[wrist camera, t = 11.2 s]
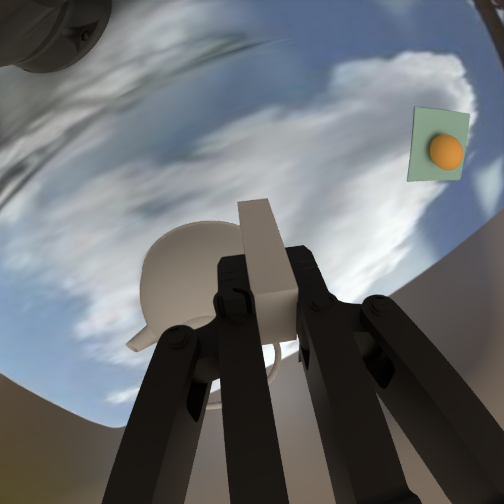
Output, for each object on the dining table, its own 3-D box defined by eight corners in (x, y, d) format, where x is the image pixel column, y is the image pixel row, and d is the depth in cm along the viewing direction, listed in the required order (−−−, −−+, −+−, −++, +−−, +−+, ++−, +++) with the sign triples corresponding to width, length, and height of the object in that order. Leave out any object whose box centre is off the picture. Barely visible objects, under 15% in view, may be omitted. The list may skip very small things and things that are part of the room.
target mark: (414, 106, 35) (415, 107, 35) (469, 114, 36) (469, 114, 35) (406, 181, 42) (407, 181, 42) (459, 179, 43) (460, 179, 43)
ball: (430, 127, 38) (432, 135, 34) (462, 134, 36) (468, 144, 32) (427, 159, 41) (428, 171, 38) (458, 166, 39) (462, 179, 35)
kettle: (162, 337, 57) (154, 444, 39) (107, 246, 43) (60, 369, 25) (288, 311, 56) (316, 421, 38) (266, 203, 43) (306, 329, 24)
